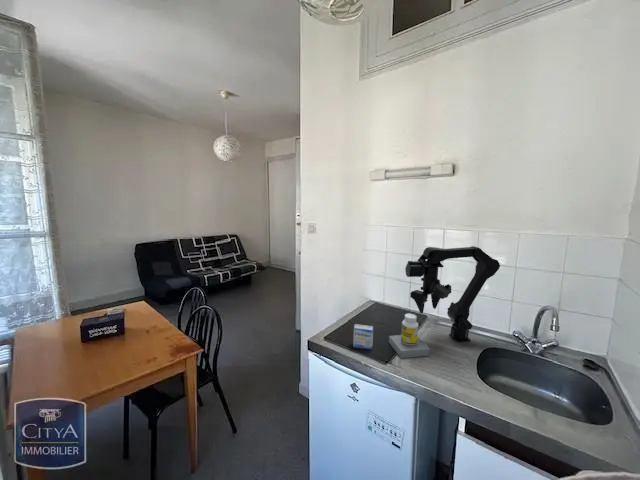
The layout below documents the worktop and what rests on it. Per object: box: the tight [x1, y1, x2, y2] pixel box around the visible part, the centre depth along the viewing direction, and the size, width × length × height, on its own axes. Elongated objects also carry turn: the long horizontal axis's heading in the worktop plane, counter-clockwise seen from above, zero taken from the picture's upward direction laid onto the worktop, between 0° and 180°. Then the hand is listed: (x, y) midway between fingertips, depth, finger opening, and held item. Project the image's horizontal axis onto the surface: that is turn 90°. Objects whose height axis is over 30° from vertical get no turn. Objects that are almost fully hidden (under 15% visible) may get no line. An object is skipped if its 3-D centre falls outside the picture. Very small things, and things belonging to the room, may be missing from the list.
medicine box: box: [352, 323, 374, 350], centre depth 118 cm, size 8×4×9 cm, turn 76°
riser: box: [388, 334, 431, 359], centre depth 116 cm, size 12×12×3 cm
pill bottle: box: [400, 313, 419, 345], centre depth 115 cm, size 6×6×12 cm
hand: (428, 310), depth 123 cm, fingers open, 9 cm apart
